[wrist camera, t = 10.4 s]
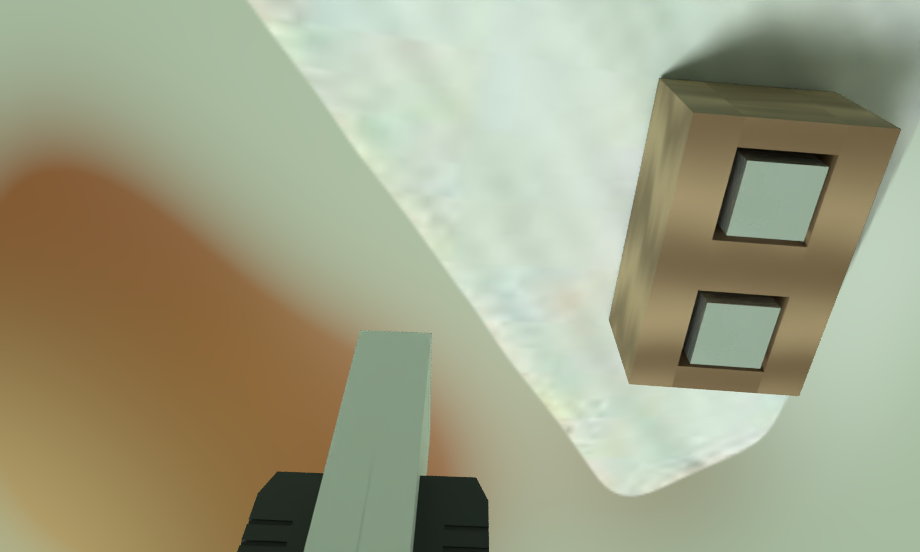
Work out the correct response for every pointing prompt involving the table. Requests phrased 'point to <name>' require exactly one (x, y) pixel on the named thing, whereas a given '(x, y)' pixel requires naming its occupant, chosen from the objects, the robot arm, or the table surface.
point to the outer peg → (730, 329)
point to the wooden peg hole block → (734, 257)
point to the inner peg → (771, 194)
